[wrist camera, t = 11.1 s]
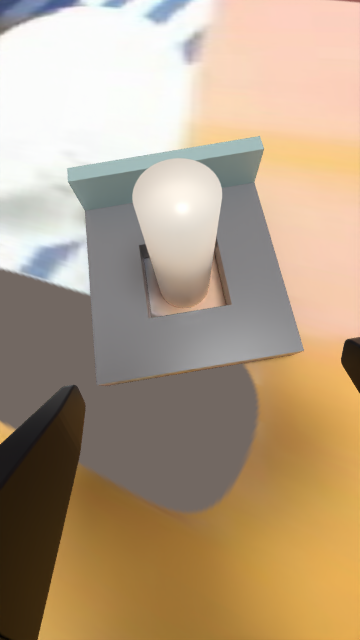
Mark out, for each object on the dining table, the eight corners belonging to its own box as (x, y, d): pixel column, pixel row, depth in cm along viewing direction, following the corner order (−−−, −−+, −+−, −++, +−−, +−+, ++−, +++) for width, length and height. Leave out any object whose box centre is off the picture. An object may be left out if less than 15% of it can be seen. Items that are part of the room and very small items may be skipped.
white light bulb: (197, 315, 20) (201, 245, 11) (151, 296, 21) (116, 215, 11) (216, 272, 21) (235, 173, 12) (171, 256, 22) (155, 148, 12)
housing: (292, 354, 19) (326, 342, 14) (106, 386, 19) (77, 383, 14) (245, 189, 23) (259, 136, 19) (93, 214, 23) (67, 168, 19)
